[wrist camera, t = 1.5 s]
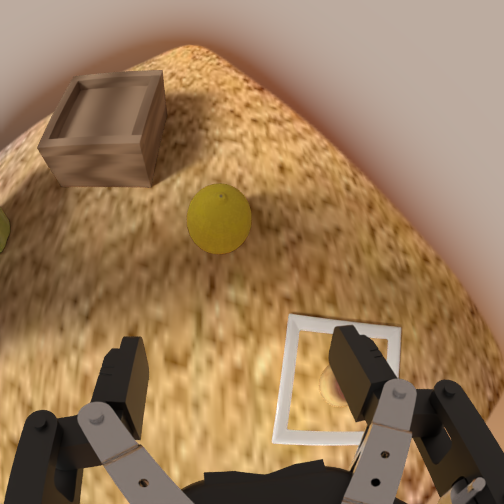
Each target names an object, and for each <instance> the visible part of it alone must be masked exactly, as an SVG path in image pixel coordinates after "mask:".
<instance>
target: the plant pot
mask: <svg viewBox="0 0 504 504" xmlns="http://www.w3.org/2000/svg"><path fill="white" fill-rule="evenodd" d="M9 234H10V223H9V220H8V218H7V217H6V215H5V213H4V212H3V210H2V209H1V208H0V253H1V252H2V250H3V249H4V247H5V245H6V241H7V238H8V236H9Z"/></svg>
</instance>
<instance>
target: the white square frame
mask: <svg viewBox="0 0 504 504" xmlns="http://www.w3.org/2000/svg"><path fill="white" fill-rule="evenodd" d="M343 325H354V327H355V328H356V330H357V331H358V333H359V334H360V335H363V334H364V335H366V336H367V337H370V338H381V339H388V351H387V362H388V364H389V365H390V367H391V369H392V370H393V372H394V373H395V375H396V376H397V378H399V365H400V349H401V327H396V326H386V325H377V324H368V323H359V322H350V321H342V320H334V319H326V318H319V317H311V316H304V315H297V314H289V315H288V324H287V333H286V341H285V349H284V357H283V365H282V373H281V381H280V388H279V395H278V402H277V409H276V416H275V423H274V430H273V436H272V443H275V444H291V445H359V444H360V441H361V439H362V436H363V433H364V432H324V431H300V430H288V429H287V424H288V418H289V411H290V403H291V396H292V388H293V381H294V373H295V364H296V356H297V347H298V338H299V331H300V330H304V331H312V332H321V333H330V334H333V331H334V328H335V327H336V326H343ZM319 390H320V394H321V396H322V398H323V399H324V400H325V401H326V402H327V403H328V404H330V405H332V406H335V407H345V406H348V404H347V402H346V400H345V397H344V395H343V393H342V391H341V389H340V387H339V384H338V382H337V380H336V378H335V376H334V374H333V372H332V369H331V367H330V365H329V366H327V367H326V368H325V370H324V371H323V373H322V374H321V377H320V380H319Z"/></svg>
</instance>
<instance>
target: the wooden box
mask: <svg viewBox="0 0 504 504" xmlns="http://www.w3.org/2000/svg"><path fill="white" fill-rule="evenodd" d="M166 118H167V109H166V100H165V90H164V80H163V70H148V71H127V72H113V73H102V74H91V75H83V76H75V77H73V79H72V80H71V82H70V84H69V86H68V87H67V89H66V91H65V93H64V94H63V96H62V98H61V100H60V102H59V104H58V106H57V107H56V109H55V111H54V113H53V115H52V117H51V119H50V121H49V123H48V125H47V127H46V129H45V132H44V134H43V136H42V138H41V140H40V142H39V145H38V147H37V149H38V150H39V152H40V154H41V155H42V157H43V158H44V160H45V162H46V163H47V165H48V167H49V168H50V170H51V171H52V173H53V174H54V176H55V178H56V179H57V181H58V182H59V184H60V185H61V187H147V188H151V185H152V180H153V175H154V170H155V165H156V160H157V156H158V151H159V147H160V142H161V138H162V134H163V130H164V126H165V122H166Z"/></svg>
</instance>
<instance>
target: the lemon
mask: <svg viewBox="0 0 504 504" xmlns="http://www.w3.org/2000/svg"><path fill="white" fill-rule="evenodd" d="M251 218H252V215H251V210H250V206H249V203H248V201H247V199H246V198H245V196H244V195H243V194H242V193H241V192H240V191H239V190H238V189H236V188H235V187H233V186H230V185H227V184H221V183H220V184H212V185H209V186H206V187H205V188H203V189H201V190H200V191H199V192H198V193H197V194H196V195H195V196H194V198H193V199H192V201H191V203H190V205H189V209H188V213H187V228H188V231H189V234H190V236H191V238H192V239H193V241H194V243H195V244H196V245H197V246H199V247H200V248H201V249H202V250H204V251H206V252H208V253H212V254H226V253H230V252H232V251H234V250H236V249H237V248H238V247H239V246H240V245H242V244H243V242H244V241H245V239H246V238H247V236H248V234H249V231H250V228H251Z"/></svg>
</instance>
